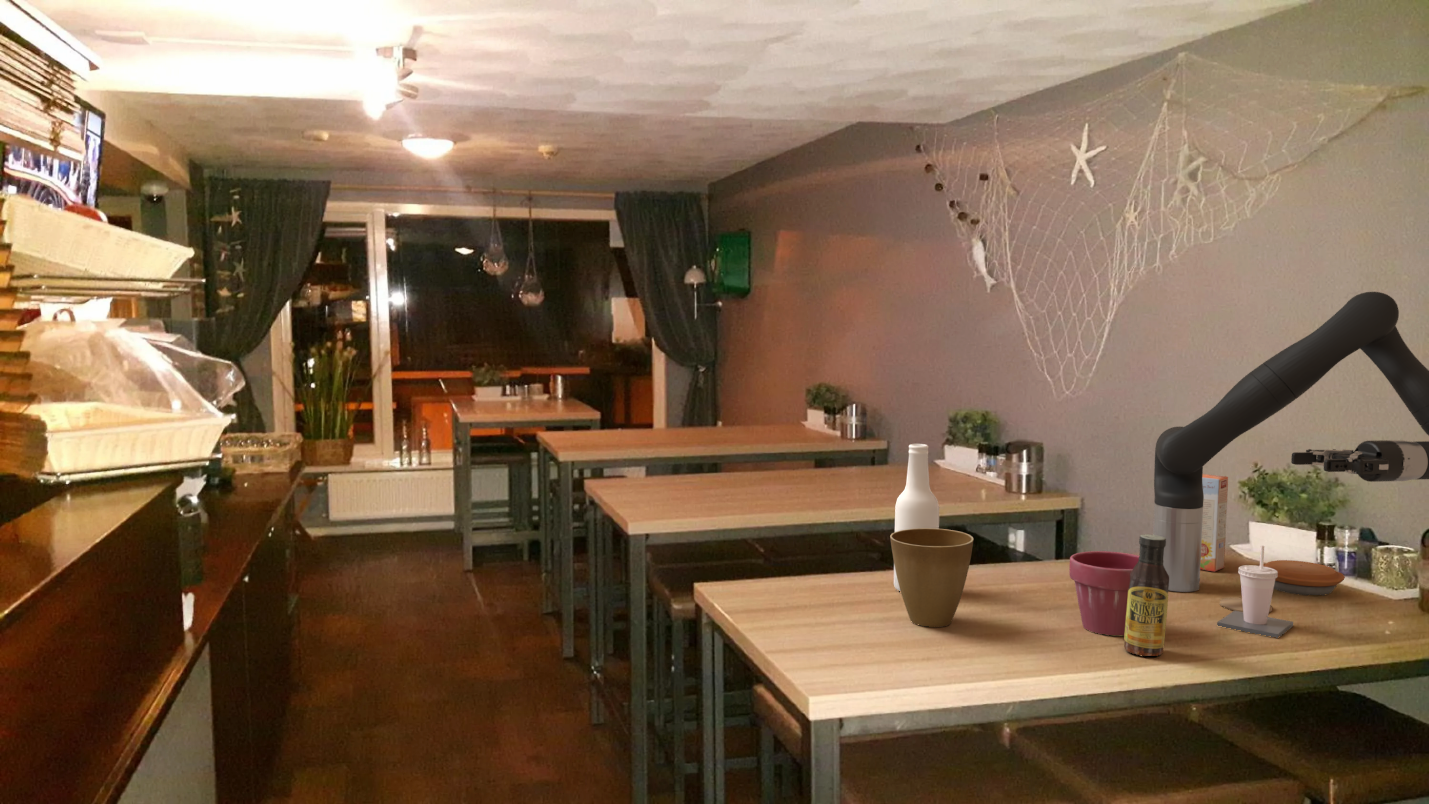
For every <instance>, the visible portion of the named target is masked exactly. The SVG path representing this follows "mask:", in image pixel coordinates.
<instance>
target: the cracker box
mask: <svg viewBox="0 0 1429 804" xmlns="http://www.w3.org/2000/svg"><path fill="white" fill-rule="evenodd" d="M1202 484H1203V494H1204V500H1203V522H1202V542H1201V563H1200V571H1201V570H1202V571H1208V572H1211V573H1212V572H1213V573H1214V572H1218V571H1220V570H1222V569H1224V568H1225V560H1226V559H1225V557H1226V538H1227V537H1226V536H1227V515H1228V514H1227V512H1228V511H1227V510H1228V489H1229V476H1226V475H1225V476H1223V475H1214V474H1206V473H1203V475H1202Z"/></svg>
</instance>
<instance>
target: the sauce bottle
mask: <svg viewBox="0 0 1429 804" xmlns="http://www.w3.org/2000/svg"><path fill="white" fill-rule="evenodd" d="M1138 540H1139V541H1138V543H1139V554H1138V556H1139V561H1138V562H1137V564H1136V565H1135V567H1134V568H1133V570H1132V571H1131V573H1130V584H1129V589H1128V599H1127V610H1126V623H1125V634H1124V636H1123V639H1124V646H1123V647H1124V650H1125V651H1126V652H1127V653H1129V652H1130V654H1131V653H1132V655H1134V654H1136V655H1135V656H1138V655H1142V656H1141V657H1143V656H1158V655H1159V656H1161V655H1162V654H1163V651H1164V648H1165V647H1164V646H1165V635H1166V626H1167V617H1168V606H1169V605H1168V603H1169V590H1168V587H1169V575H1168V574H1167V572H1166V570H1165V568H1164V566H1163V562H1164V561H1163V555H1164V548H1165V546H1166V538H1164V537H1161V536H1157V535H1153V534H1140V535H1139V539H1138ZM1159 656H1158V657H1159Z"/></svg>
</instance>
